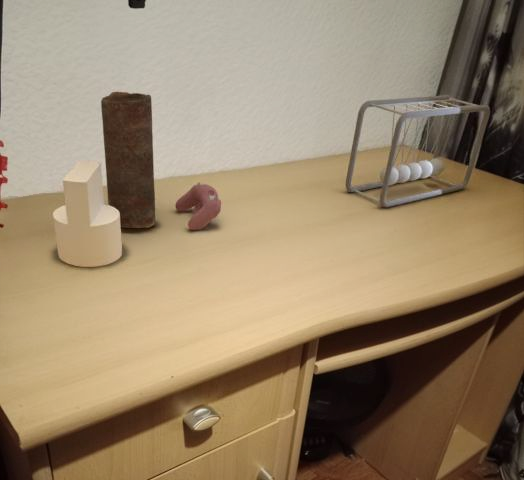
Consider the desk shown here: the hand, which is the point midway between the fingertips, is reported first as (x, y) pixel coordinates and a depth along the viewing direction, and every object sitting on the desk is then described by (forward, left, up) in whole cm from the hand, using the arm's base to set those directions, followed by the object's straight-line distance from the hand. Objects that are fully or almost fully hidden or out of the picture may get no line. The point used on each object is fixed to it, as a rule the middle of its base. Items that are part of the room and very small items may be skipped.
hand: (105, 2), depth 73 cm
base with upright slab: (+3, -13, -31) cm, 34 cm away
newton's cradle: (+43, +46, -31) cm, 70 cm away
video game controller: (+11, +7, -31) cm, 34 cm away
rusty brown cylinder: (+3, -1, -31) cm, 31 cm away
